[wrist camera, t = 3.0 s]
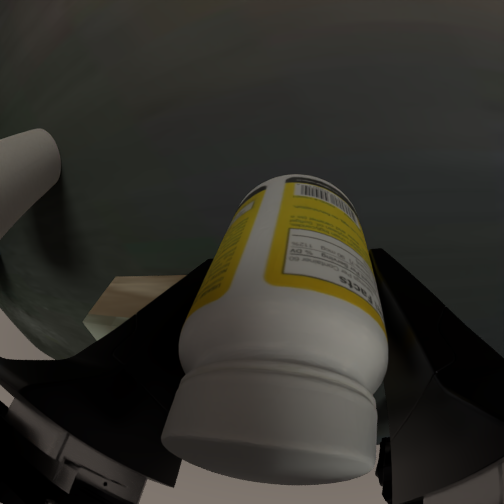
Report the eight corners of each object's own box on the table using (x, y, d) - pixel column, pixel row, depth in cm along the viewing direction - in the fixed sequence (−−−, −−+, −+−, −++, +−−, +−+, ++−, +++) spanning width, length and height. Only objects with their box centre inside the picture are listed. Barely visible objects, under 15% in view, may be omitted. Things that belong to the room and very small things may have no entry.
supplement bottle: (257, 285, 13) (204, 476, 6) (218, 188, 10) (83, 401, 4) (366, 269, 11) (384, 483, 4) (349, 159, 9) (422, 425, 2)
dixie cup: (84, 190, 20) (-3, 265, 12) (35, 206, 22) (-33, 266, 14) (54, 98, 15) (-52, 143, 7) (9, 133, 17) (-70, 179, 9)
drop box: (283, 372, 29) (276, 422, 24) (170, 363, 32) (153, 404, 27) (260, 272, 21) (243, 336, 16) (115, 276, 25) (82, 321, 20)
